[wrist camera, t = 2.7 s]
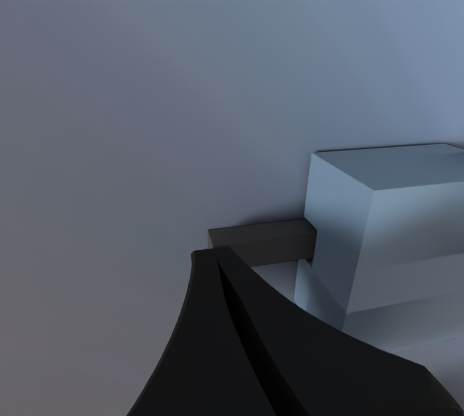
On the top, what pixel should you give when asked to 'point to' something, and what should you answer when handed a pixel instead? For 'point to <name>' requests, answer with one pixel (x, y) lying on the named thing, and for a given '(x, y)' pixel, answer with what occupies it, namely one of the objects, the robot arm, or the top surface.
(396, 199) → the pale blue notched block
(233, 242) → the dark grey bar
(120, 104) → the top surface
